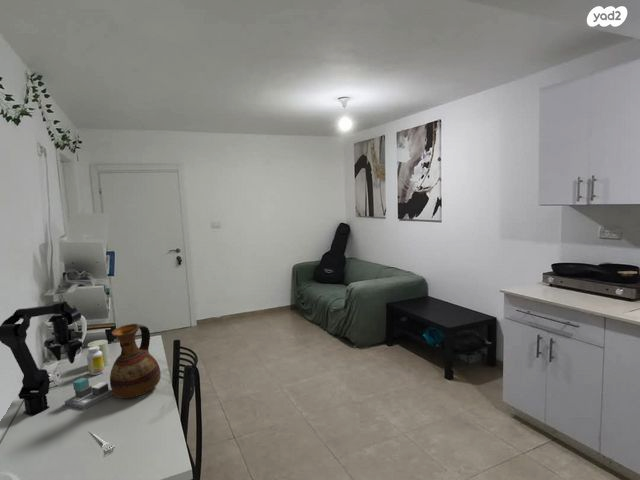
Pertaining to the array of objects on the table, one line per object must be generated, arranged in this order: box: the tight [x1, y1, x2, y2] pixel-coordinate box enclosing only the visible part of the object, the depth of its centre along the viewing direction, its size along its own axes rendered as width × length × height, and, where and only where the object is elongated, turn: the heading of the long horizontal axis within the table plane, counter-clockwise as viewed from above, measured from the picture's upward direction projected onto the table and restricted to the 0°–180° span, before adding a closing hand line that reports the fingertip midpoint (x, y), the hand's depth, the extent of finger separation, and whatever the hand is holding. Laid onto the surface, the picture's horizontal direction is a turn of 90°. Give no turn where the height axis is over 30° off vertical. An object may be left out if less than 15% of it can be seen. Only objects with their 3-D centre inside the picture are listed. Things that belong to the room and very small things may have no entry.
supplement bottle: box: [86, 346, 105, 376], centre depth 189 cm, size 7×7×13 cm
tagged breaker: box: [74, 384, 92, 398], centre depth 163 cm, size 4×4×3 cm
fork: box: [93, 433, 116, 452], centre depth 133 cm, size 3×20×2 cm, turn 51°
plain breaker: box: [91, 381, 110, 396], centre depth 164 cm, size 4×4×3 cm
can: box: [87, 339, 111, 367], centre depth 199 cm, size 9×9×12 cm
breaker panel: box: [64, 389, 114, 410], centre depth 163 cm, size 13×12×2 cm
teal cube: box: [72, 377, 90, 391], centre depth 162 cm, size 4×4×4 cm
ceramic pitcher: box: [109, 323, 162, 399], centre depth 167 cm, size 20×20×30 cm
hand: (65, 361), depth 174 cm, fingers open, 9 cm apart
